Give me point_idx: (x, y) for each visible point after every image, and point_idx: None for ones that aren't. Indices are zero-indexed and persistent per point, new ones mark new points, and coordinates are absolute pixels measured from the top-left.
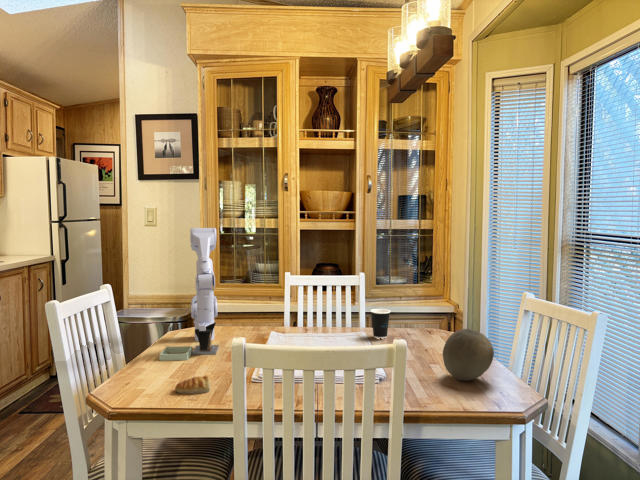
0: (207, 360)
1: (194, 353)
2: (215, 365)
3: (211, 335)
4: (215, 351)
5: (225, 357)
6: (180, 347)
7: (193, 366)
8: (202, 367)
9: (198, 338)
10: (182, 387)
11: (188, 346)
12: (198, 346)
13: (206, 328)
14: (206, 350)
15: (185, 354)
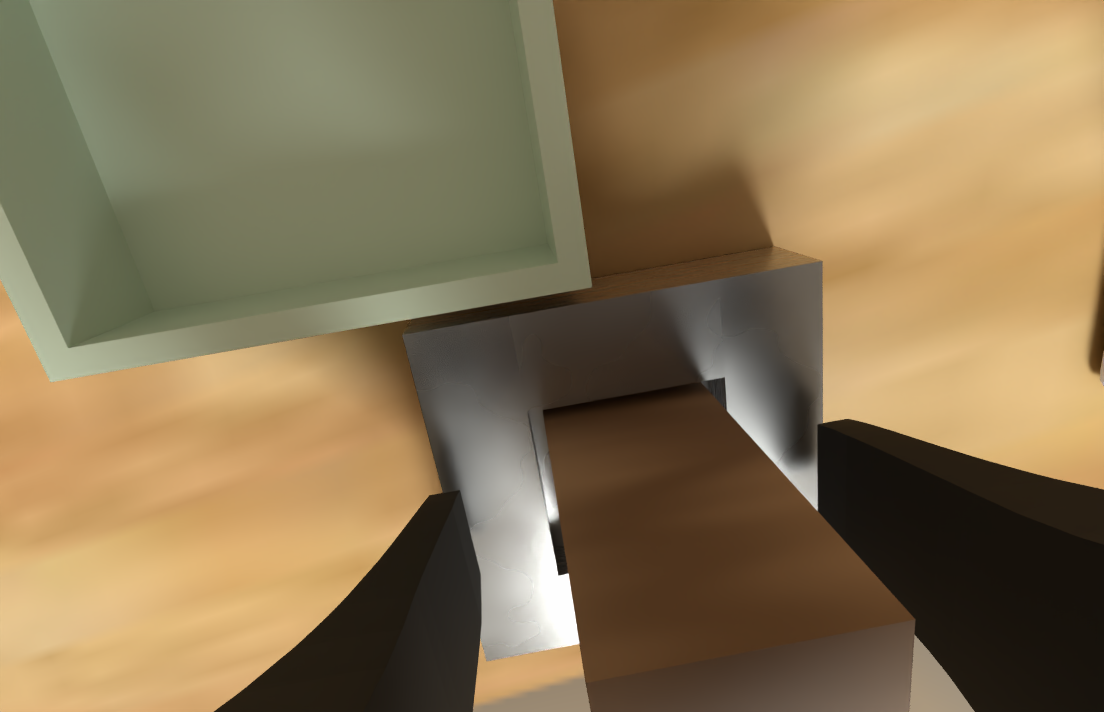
0: (343, 548)
1: (415, 367)
2: (176, 689)
3: (920, 639)
4: (489, 656)
5: (499, 692)
6: (521, 28)
7: (40, 468)
8: (47, 585)
9: (290, 665)
10: None
11: (568, 209)
12: (752, 326)
13: (1101, 699)
14: (524, 528)
15: (40, 346)
